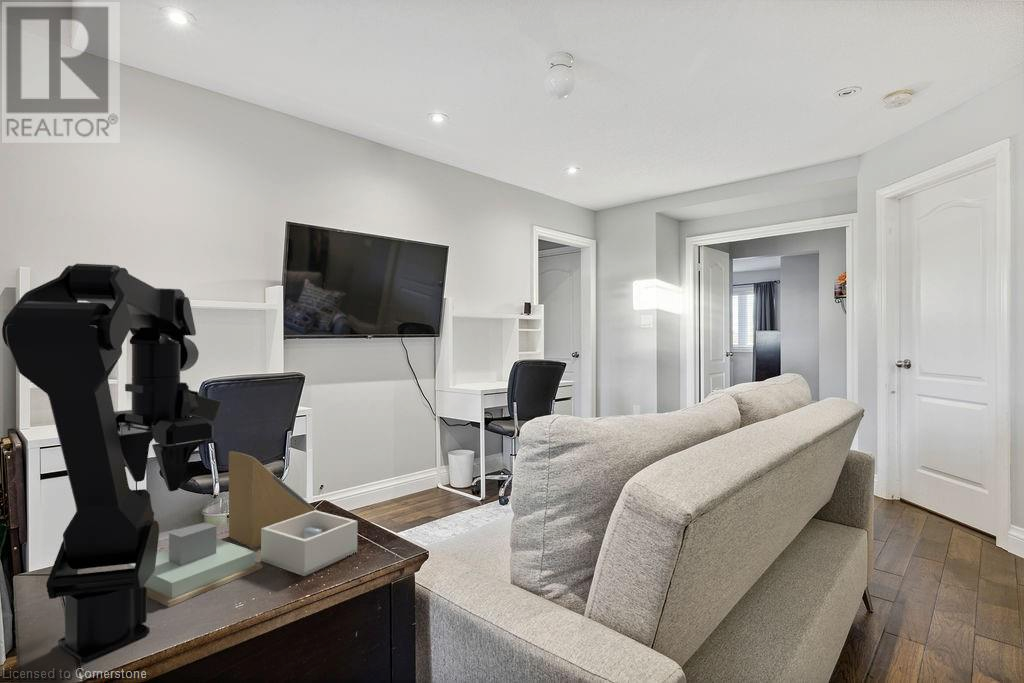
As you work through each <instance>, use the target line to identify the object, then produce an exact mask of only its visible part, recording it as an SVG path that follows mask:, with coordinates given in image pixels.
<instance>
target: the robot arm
mask: <svg viewBox="0 0 1024 683" xmlns="http://www.w3.org/2000/svg"><path fill="white" fill-rule="evenodd" d="M79 301H80V302H79ZM1 328H2V329H1V330H2V331H1V334H2V339H3V342H4V345H6V347H7V348H8V349H9V351H10V354H11V356H12V359H13V361H14V364H15V366H16V368H17V371H18V372H19V374H20V375H22V376H23V378H26V379H27V380H28V381H30V383H32V384H33V385H35V386H36V387H37V388H38V389H40V390H42V392H44V393H45V394H46V395H47V397H48V400H49V404H50V409H51V413H52V417H53V421H54V424H55V428H56V429H55V430H56V432H57V436H58V441H59V445H60V447H61V449H60V450H61V453H62V455H63V461H64V464H65V468H66V469H65V470H66V472H67V477H68V481H69V484H70V489H71V493H72V496H73V500H74V504H75V511H76V512H75V513H74V515H73V517H72V518H71V519H70V521H69V523H68V525H67V526H66V528H65V530H64V532H63V533H62V542H61V544H60V548H59V550H58V552H57V555H56V557H55V559H54V563H53V565H52V568H51V571H50V573H49V576H48V578H47V580H46V591H47V594H48V598H49V600H52V599H57V598H63V597H64V636H63V637H61V638H59V639H58V640H57V645H58V646H59V647H60V648H61V649H63V650H64V651H66V652H67V653H68V654H70V655H72V656H73V657H75V658H76V659H77V660H79V661H80V662H86V661H89V660H92V659H95V658H96V657H98V656H100V655H104V654H106V653H108V652H110V651H112V650H115V649H117V648H120V647H121V646H123V645H126V644H128V643H131V642H133V641H135V640H137V639H139V638H142V637H145V636H147V635H148V634H150V632H151V631H150V626H149V627H148V626H147V625H145V623H146V622H147V619H148V597H147V588H146V587H144V586H143V585H144V584H145V583H146V581H147V580H148V579H149V578H150V577H151V575H152V574H153V573H154V571H155V564H156V556H157V553H158V546H159V545H158V544H159V538H160V525H159V522H158V521H157V520H155V517H154V516H155V512H154V510H153V507H152V500H151V499H152V498H151V494H150V493H149V491H148V490H147V489H144V488H143V489H131V488H130V486H129V480H128V475H127V470H128V472H129V474H130V476H131V477H132V479H133V481H134V482H136V483H137V482H143V481H144V480H145V478H146V477H145V476H146V473H147V466H148V458H149V451H150V443H151V442H152V441H153V440H154V442H155V443H154V444H152V450H153V452H154V456H155V457H156V460H157V463H158V466H159V470H160V472H161V475H162V477H163V481H164V484H165V486H166V488H167V490H168V492H176V491H178V490H179V488H180V485H181V483H182V481H183V477H184V474H185V472H186V469H187V466H188V464H189V461H190V458H191V456H192V455H193V453H194V452H195V451H196V449H198V448H199V447H200V446H201V445H204V444H206V443H207V442H208V440H209V439H213V438H214V433H215V432H214V430H215V429H214V423H215V422H216V420H217V418H218V414H219V412H220V409H221V406H222V403H223V402H222V401H221V400H216V399H213V398H209V397H206V396H202V395H200V394H199V391H196V390H191V389H189V388H190V387H189V385H188V384H187V382H181V372H184V371H188V370H190V369H191V368H193V366H195V364H196V363H197V362H198V359H199V353H200V352H199V350H198V349H199V348H198V347H197V345H196V344H195V342H194V341H193V340H191V339H189V338H188V337H187V336H191V337H193V336H196V334H197V332H196V326H195V322H194V317H193V312H192V306H191V302H190V299H189V297H188V296H186V295H185V293H184V292H183V290H182V289H181V288H163V287H162V288H157V287H155V286H152V285H150V284H149V283H147V282H146V281H143V280H141V279H139V278H138V277H136V276H134V275H132V274H130V273H129V271H128V270H127V269H126V268H125V267H120V266H119V265H116V264H97V263H94V264H93V263H75V264H73V265H67V266H66V267H65V268H64V269H63V271H62V272H61V274H60V275H59V276H58V277H56V278H54V279H52V280H50V281H47V282H46V283H45V282H44V283H43V284H41V285H39V286H37V287H35V288H34V287H33V288H32V289H30V290H28V291H26V292H25V293H24V294H23V295H22V296H21V297H20V299H19V300H18V301H17V302H16V304H15V305H14V307H13V308H12V309H10V311H9V313H8V314H7V315H6V317H5V318H4V320H3V323H2V327H1ZM129 333H131V334H132V336H131V338H130V339H129V344H130V345H131V383H125V384H124V385H125V386H124V388H125V389H124V391H125V392H129V393H130V392H131V409H128V410H127V409H125V410H118V411H117V410H116V411H115V410H114V405H113V404H114V403H113V399H112V395H111V394H112V393H111V389H110V383H109V377H110V374H111V373H112V371H113V369H114V368H115V366H116V364H117V363H118V361H119V359H120V358H121V356H122V355H123V345H124V342H125V341H126V338H127V336H128V334H129ZM213 422H214V423H213ZM126 469H127V470H126ZM134 563H136V565H135V568H131V569H127V568H124V569H114V570H113V569H112V570H104V571H94V572H84V573H78V572H79V570H84V569H85V570H86V569H94V568H95V569H96V568H102V567H113V566H114V567H115V566H122V565H123V566H124V565H127V564H134Z"/></svg>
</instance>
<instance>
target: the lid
mask: <svg viewBox="0 0 1024 683" xmlns="http://www.w3.org/2000/svg"><path fill="white" fill-rule="evenodd" d="M217 527H218V526H217V525H214V524H212V523H208V522H201V523H198V524H195V525H191V526H188V527H185V528H181V529H177V530H175V531H171V532H168V549H166V550H163V551H160V552H157V556H156V564H155V571H154V573H153V574H152V575H151V577H150V578H149V579H148V580H147V581H146V583H145V584H144V586H146V587H149V588H151V589H153V590H155V591H157V592H159V593H161V594H164V595H166V596H168V597H170V598H175V597H177V596H180V595H182V594H185V593H187V592H190V591H192V590H195V589H197V588H200V587H202V586H205V585H207V584H209V583H212V582H214V581H217V580H219V579H222V578H224V577H227V576H229V575H232V574H234V573H237V572H239V571H242V570H244V569H247V568H249V567H252V566H254V565H255V562H256V551H255V550H252V549H249V548H246V547H243V546H240V545H238V544H234V543H231V542H228V541H225V540H222V539H219V538H218V537H217V536H218V535H217V534H218V533H217ZM135 565H136V563H134V564H126V569H131V568H135Z"/></svg>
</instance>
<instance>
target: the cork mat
mask: <svg viewBox="0 0 1024 683" xmlns="http://www.w3.org/2000/svg"><path fill="white" fill-rule="evenodd" d="M260 570H263V563H260V562H256V561H255V565H254V566H252V567H249V568H247V569H244V570H242V571H239V572H237V573H234V574H232V575H229V576H227V577H224V578H222V579H219V580H217V581H214V582H212V583H209V584H207V585H205V586H202V587H200V588H197V589H195V590H192V591H190V592H187V593H185V594H182V595H180V596H177V597H175V598H170V597H168V596H166V595H164V594H161V593H159V592H157V591H155V590H153V589H151V588H149V587H146V586H144V585H143V586H144V587H146V588H147V598H149V599H152V600H154V601H155V602H157V603H159V604H162V605H164V606H166V607H168V608H170V607H172V606H174V605H176V604H177V605H178V604H179V603H182V602H184V601H187V600H189V599H192V598H194V597H196V596H199V595H202V594H203V593H206V592H209V591H211V590H213V589H216V588H219V587H221V586H223V585H225V584H228V583H230V582H232V581H235V580H238V579H240V578H242V577H245V576H247V575H249V574H252V573H255V572H257V571H260Z"/></svg>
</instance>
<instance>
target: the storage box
mask: <svg viewBox="0 0 1024 683" xmlns="http://www.w3.org/2000/svg"><path fill="white" fill-rule="evenodd" d="M316 510H317V509H316ZM316 510H314V511H311V512H309V513H306V514H303V515H300V516H297V517H294V518H291V519H288V520H285V521H282V522H279V523H276V524H273V525H270V526H267V527H264V528H261V546H260V561H261V562H263V563H266V564H268V565H272V566H274V567H277V568H280V569H283V570H285V571H289V572H291V573H294V574H297V575H300V576H301V577H306V576H308V575H311V574H313V573H316V572H317V571H320V570H321V569H324V568H326V567H328V566H330V565H332V564H335V563H337V562H339V561H341V560H343V559H345V558H347V556H348V557H349V555H350V556H352V555H354V554H356V553H358V520H355V519H351V518H347V517H343V516H340V515H335V514H331V513H328V512H324V511H319V510H318V511H316ZM355 552H356V553H355ZM353 553H354V554H353Z"/></svg>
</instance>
